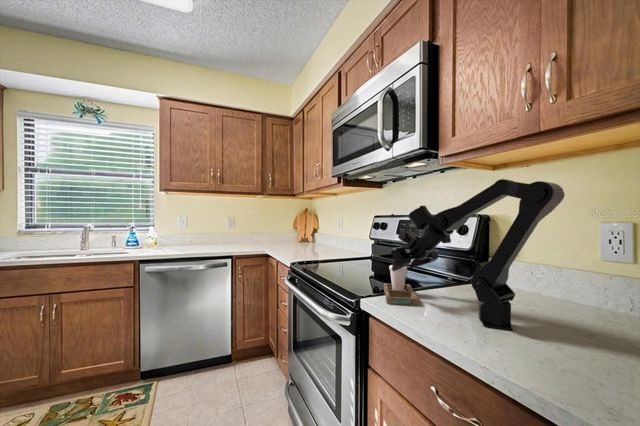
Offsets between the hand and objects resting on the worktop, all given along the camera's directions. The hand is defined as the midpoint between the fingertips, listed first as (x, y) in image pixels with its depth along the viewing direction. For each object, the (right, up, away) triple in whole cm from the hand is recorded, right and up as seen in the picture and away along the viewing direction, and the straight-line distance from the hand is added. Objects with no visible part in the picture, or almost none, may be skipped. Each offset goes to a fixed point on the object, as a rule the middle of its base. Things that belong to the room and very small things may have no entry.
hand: (401, 268), depth 100 cm
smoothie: (-1, -9, +1) cm, 10 cm away
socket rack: (-2, -9, -3) cm, 10 cm away
